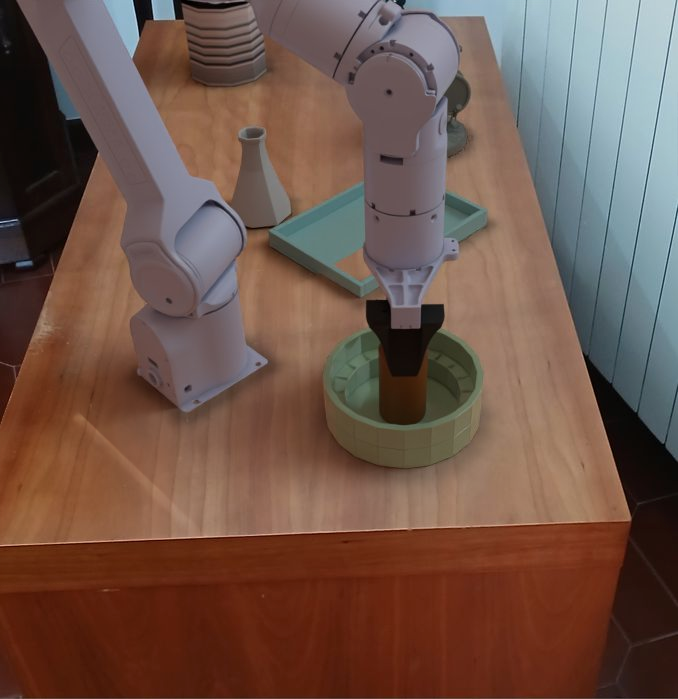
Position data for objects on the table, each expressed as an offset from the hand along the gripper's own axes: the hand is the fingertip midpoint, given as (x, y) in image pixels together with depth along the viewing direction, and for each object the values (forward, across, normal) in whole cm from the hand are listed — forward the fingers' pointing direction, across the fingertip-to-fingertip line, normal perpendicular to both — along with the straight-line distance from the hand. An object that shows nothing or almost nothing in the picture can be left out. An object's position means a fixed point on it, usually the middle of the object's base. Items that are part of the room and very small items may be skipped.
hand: (403, 341), depth 74 cm
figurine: (+8, +49, -4) cm, 50 cm away
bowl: (+8, 0, 0) cm, 8 cm away
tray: (+8, +28, +2) cm, 29 cm away
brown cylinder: (+8, 0, 0) cm, 8 cm away
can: (+8, +71, +24) cm, 75 cm away
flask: (+8, +32, +16) cm, 37 cm away
